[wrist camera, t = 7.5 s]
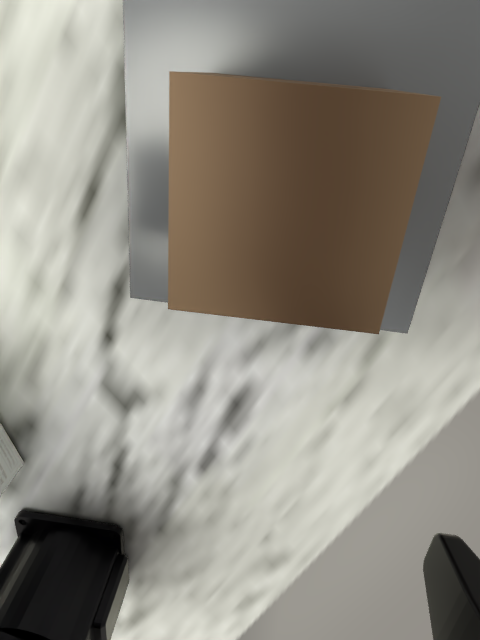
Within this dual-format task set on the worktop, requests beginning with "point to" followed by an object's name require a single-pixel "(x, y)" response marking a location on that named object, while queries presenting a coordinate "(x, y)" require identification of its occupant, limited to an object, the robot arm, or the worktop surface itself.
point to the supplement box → (8, 460)
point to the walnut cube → (290, 196)
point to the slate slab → (310, 66)
